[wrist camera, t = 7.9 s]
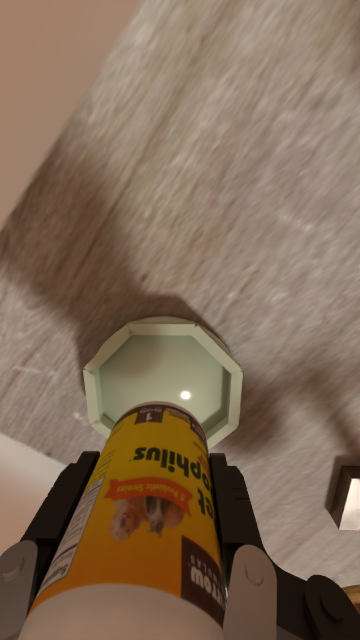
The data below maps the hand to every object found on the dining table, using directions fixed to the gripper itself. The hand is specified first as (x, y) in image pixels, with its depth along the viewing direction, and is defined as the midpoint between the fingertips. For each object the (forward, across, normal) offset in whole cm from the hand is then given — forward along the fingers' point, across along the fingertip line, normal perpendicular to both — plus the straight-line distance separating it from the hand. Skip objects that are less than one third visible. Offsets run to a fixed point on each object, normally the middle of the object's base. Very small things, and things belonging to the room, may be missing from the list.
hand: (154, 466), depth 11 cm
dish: (+7, 0, 0) cm, 7 cm away
